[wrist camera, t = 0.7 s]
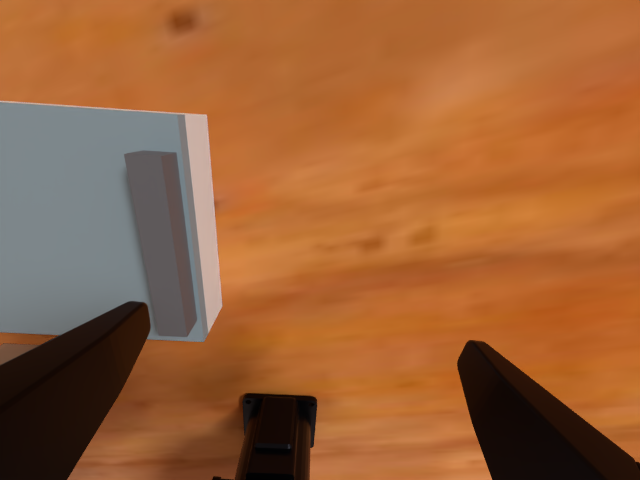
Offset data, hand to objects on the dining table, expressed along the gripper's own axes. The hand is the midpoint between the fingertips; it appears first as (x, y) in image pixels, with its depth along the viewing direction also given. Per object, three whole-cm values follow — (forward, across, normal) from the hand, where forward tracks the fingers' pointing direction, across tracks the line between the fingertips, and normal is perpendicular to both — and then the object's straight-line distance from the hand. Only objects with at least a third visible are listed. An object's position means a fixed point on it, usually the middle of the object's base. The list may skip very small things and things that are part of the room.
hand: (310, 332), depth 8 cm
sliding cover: (+9, +14, +3) cm, 17 cm away
